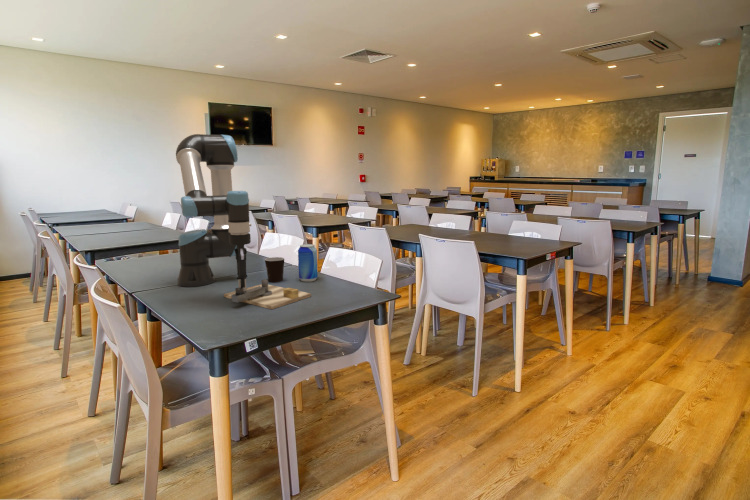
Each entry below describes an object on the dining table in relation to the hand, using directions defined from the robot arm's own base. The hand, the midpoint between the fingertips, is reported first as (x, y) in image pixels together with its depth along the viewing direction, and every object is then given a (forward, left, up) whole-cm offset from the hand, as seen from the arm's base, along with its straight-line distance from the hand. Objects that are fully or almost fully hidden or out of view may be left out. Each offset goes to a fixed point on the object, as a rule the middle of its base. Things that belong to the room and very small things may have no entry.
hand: (243, 295), depth 164 cm
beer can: (-4, +39, -3) cm, 39 cm away
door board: (+2, +9, -3) cm, 10 cm away
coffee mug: (-16, +31, -3) cm, 35 cm away
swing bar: (+3, 0, 0) cm, 3 cm away
